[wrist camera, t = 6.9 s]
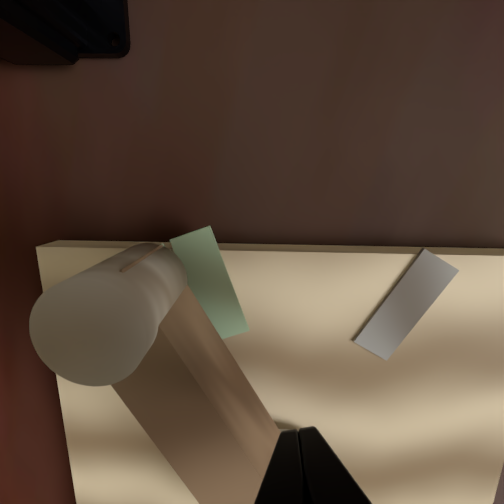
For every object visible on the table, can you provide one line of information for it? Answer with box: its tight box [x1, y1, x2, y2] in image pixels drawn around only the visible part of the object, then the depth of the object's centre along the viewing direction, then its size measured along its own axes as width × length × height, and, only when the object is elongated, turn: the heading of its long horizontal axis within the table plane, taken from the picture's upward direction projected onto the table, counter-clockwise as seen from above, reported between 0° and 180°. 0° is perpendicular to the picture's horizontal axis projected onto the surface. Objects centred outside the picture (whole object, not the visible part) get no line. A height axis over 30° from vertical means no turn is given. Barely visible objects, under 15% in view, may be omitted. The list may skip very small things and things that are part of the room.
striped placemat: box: [36, 226, 504, 504], centre depth 16 cm, size 23×22×2 cm
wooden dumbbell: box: [29, 243, 299, 504], centre depth 11 cm, size 16×5×5 cm, turn 29°
